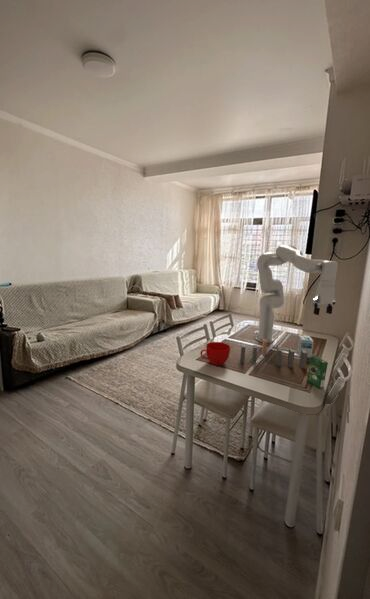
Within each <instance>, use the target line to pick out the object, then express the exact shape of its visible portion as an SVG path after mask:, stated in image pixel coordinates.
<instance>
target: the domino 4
mask: <svg viewBox="0 0 370 599" xmlns="http://www.w3.org/2000/svg"><path fill="white" fill-rule="evenodd" d="M275 351H276V353H275V359H274V360H275V361H274V362H275V365H277V366H276V367H281V365H282V364H281V363H282V357H283V356H282V355H283V350H282V348H281V347H278V346H277V347H276V350H275Z"/></svg>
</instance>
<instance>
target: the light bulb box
mask: <svg viewBox="0 0 370 599" xmlns="http://www.w3.org/2000/svg"><path fill="white" fill-rule="evenodd" d="M314 342H315V341H314V340H313V338H312V337H311V336H310V335H305V334H298V341H297V350H296V351H297V353H298V355H299V356H300V355H301V350H306V352H307V358H308V359H311V356H313V350H314Z"/></svg>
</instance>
